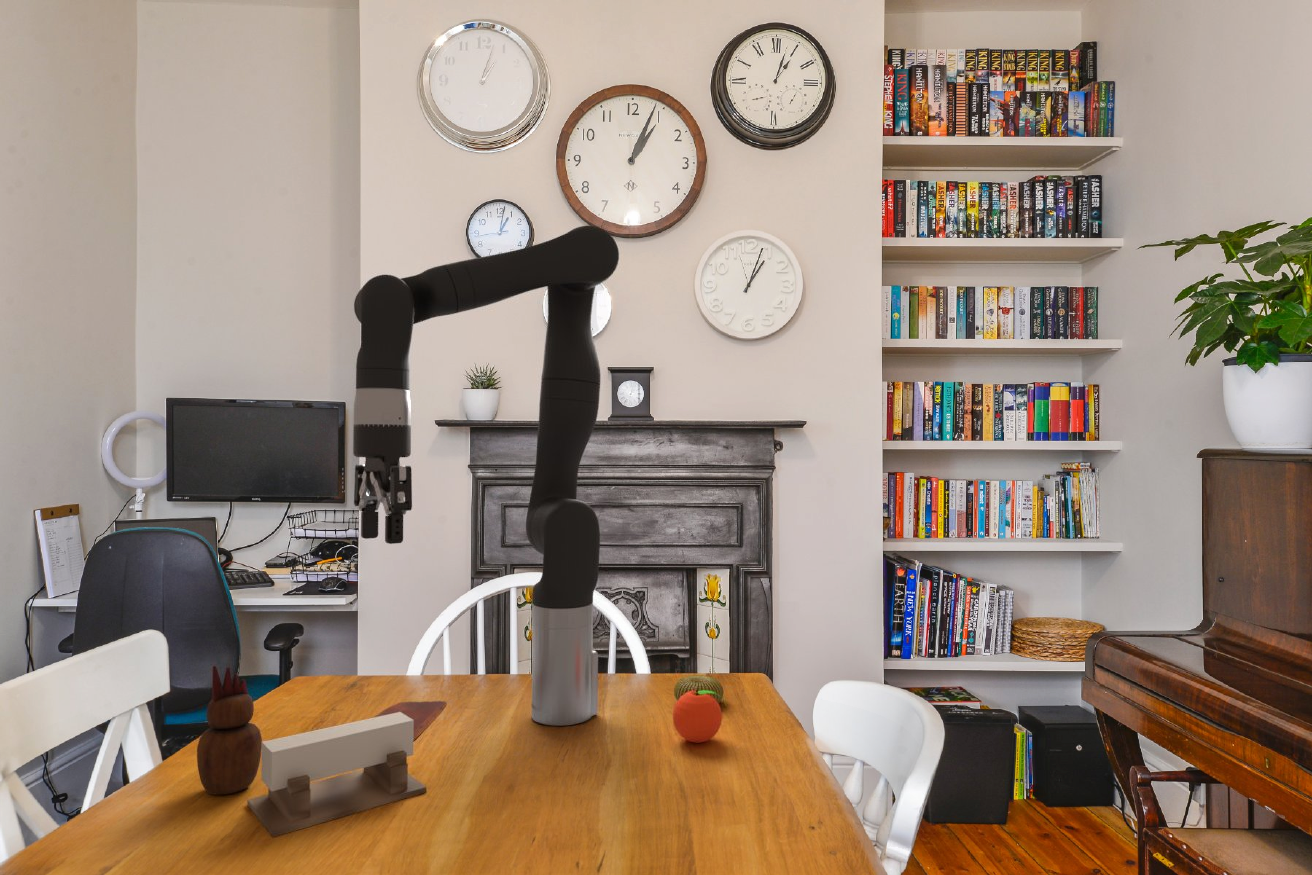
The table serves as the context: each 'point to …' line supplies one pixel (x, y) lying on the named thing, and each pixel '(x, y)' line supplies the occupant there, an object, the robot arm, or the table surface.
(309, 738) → the white rectangular block
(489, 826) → the table surface
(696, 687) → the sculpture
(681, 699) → the clementine
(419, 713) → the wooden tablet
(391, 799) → the rack
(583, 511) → the robot arm
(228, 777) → the wooden figurine
